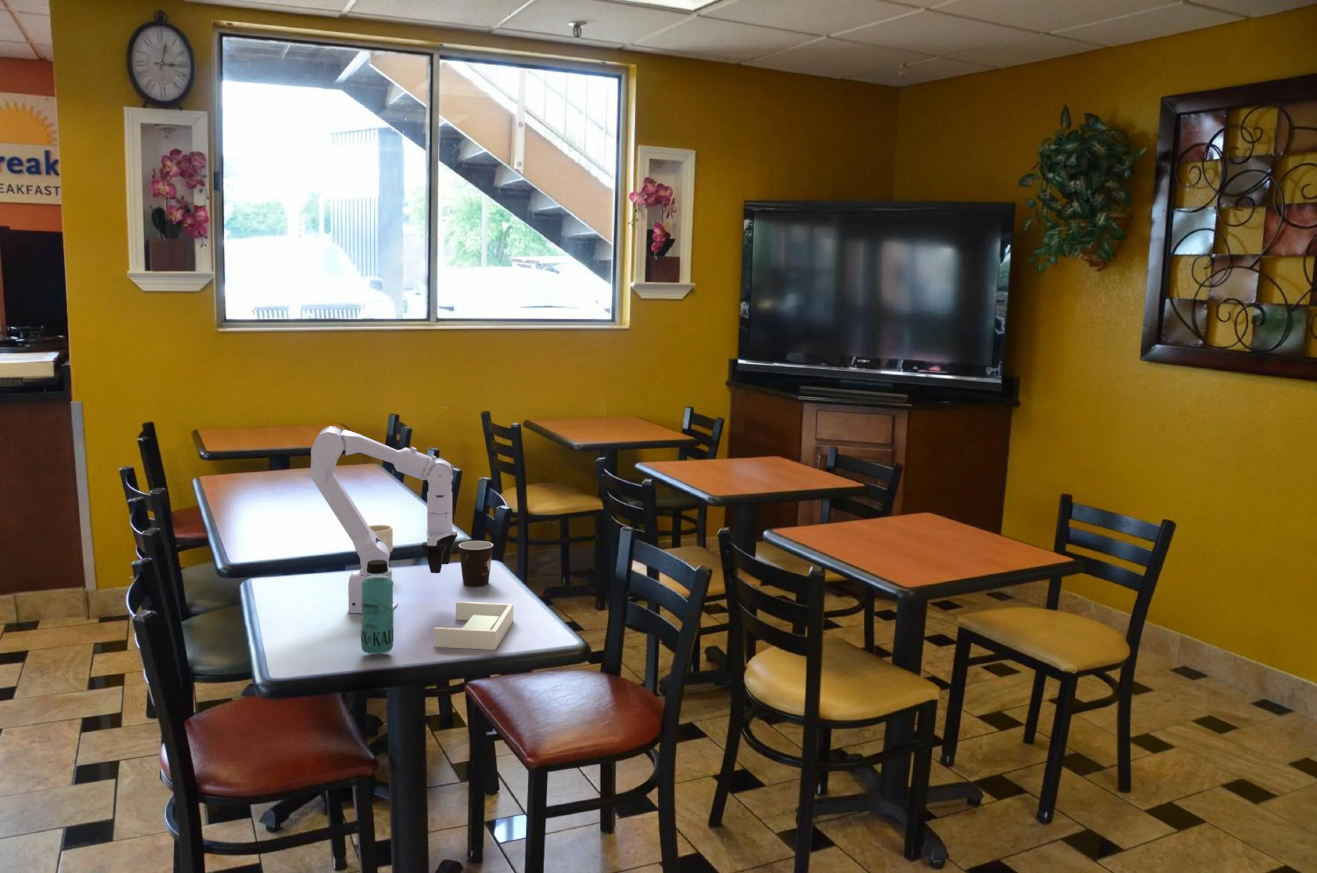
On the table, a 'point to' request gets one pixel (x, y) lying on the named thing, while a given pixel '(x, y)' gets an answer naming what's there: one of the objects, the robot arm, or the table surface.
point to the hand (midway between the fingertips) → (439, 568)
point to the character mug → (384, 535)
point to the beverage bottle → (377, 609)
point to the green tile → (481, 622)
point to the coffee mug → (475, 562)
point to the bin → (476, 636)
